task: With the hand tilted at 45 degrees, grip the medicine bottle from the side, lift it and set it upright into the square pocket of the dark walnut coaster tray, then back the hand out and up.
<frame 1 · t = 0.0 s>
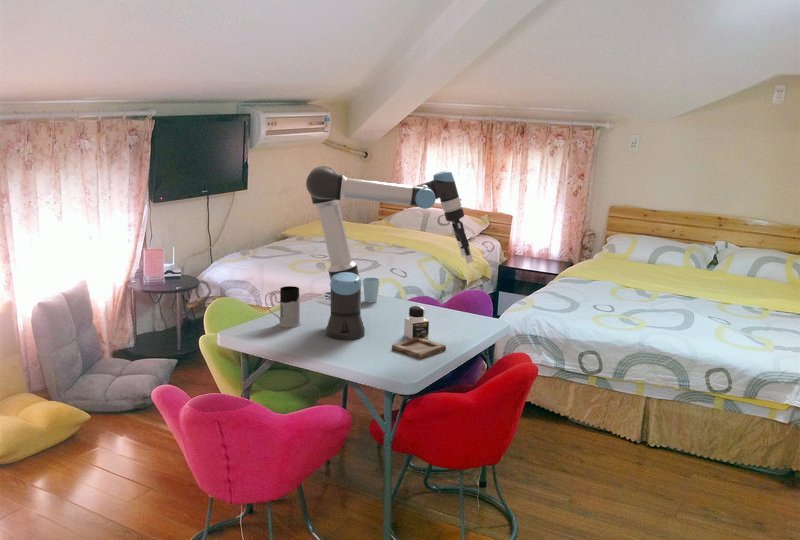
hand: (467, 259, 284), 28 cm above the table, tool tilted 20°, fingers open, 13 cm apart
coaster tray: (418, 349, 258), on the table
cup: (370, 301, 323), on the table
black and white mug: (283, 325, 284), on the table
medicine bottle: (416, 337, 273), on the table
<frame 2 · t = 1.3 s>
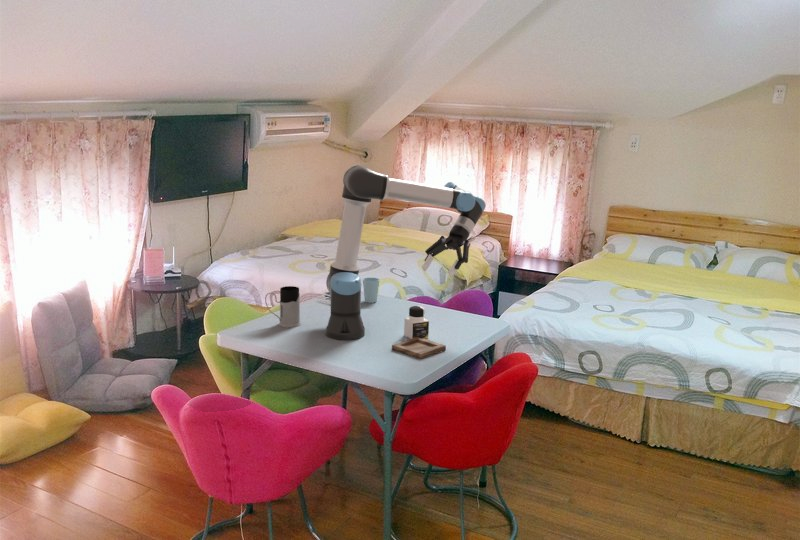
hand: (436, 272, 276), 24 cm above the table, tool tilted 45°, fingers open, 13 cm apart
nothing on the table moved.
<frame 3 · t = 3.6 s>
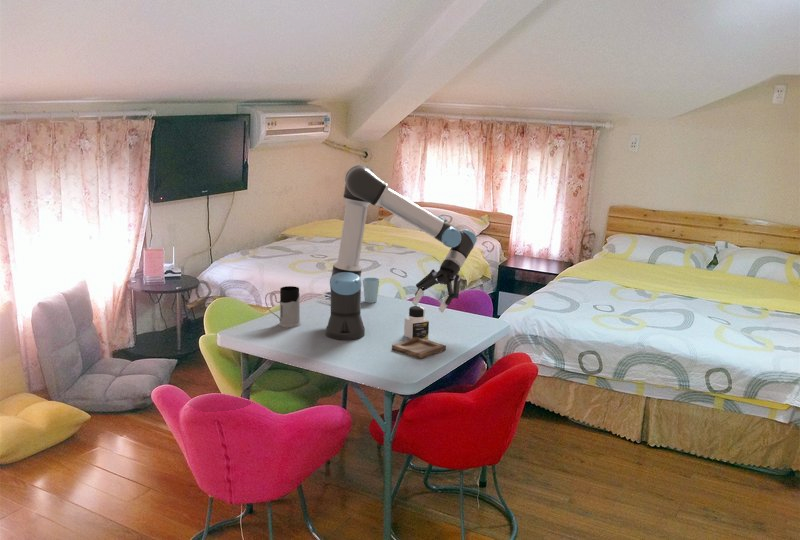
hand: (427, 307, 274), 11 cm above the table, tool tilted 45°, fingers open, 13 cm apart
nothing on the table moved.
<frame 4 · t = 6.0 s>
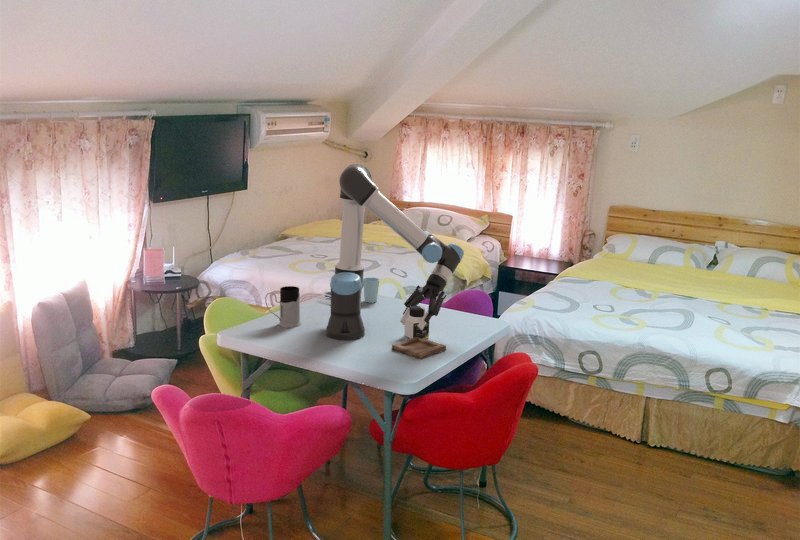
hand: (410, 325, 270), 5 cm above the table, tool tilted 45°, fingers closed on medicine bottle, 8 cm apart
medicine bottle: (416, 337, 273), on the table, touching gripper
everything else where it was.
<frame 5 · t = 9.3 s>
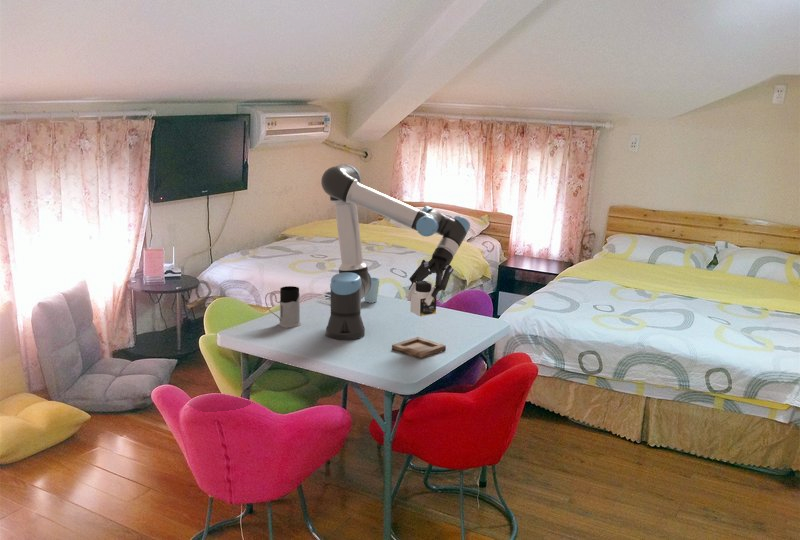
hand: (417, 301, 259), 17 cm above the table, tool tilted 45°, fingers closed on medicine bottle, 8 cm apart
medicine bottle: (423, 313, 262), point 12 cm above the table, touching gripper
everything else where it was.
when the fingers open (7 cm above the table, at t = 12.8 s): medicine bottle drops 1 cm, resting on coaster tray.
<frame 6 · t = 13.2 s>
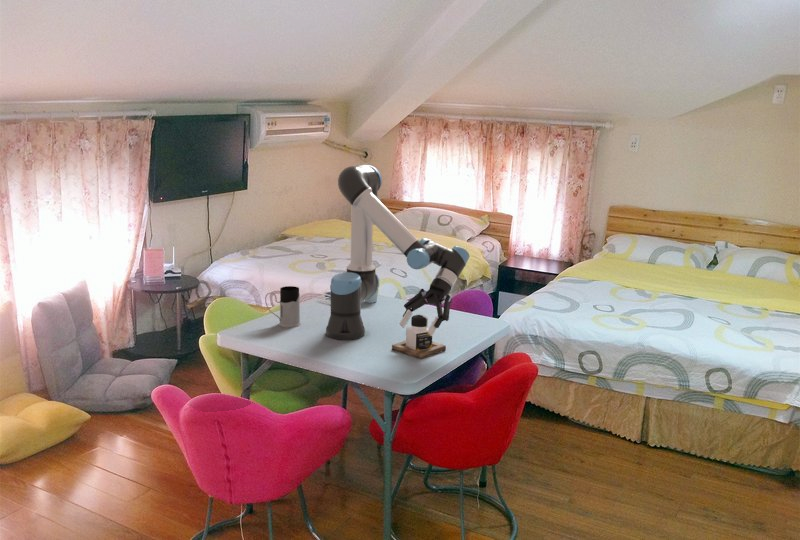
hand: (415, 330, 254), 8 cm above the table, tool tilted 45°, fingers open, 13 cm apart
medicine bottle: (418, 348, 258), point 1 cm above the table, touching coaster tray
everything else where it was.
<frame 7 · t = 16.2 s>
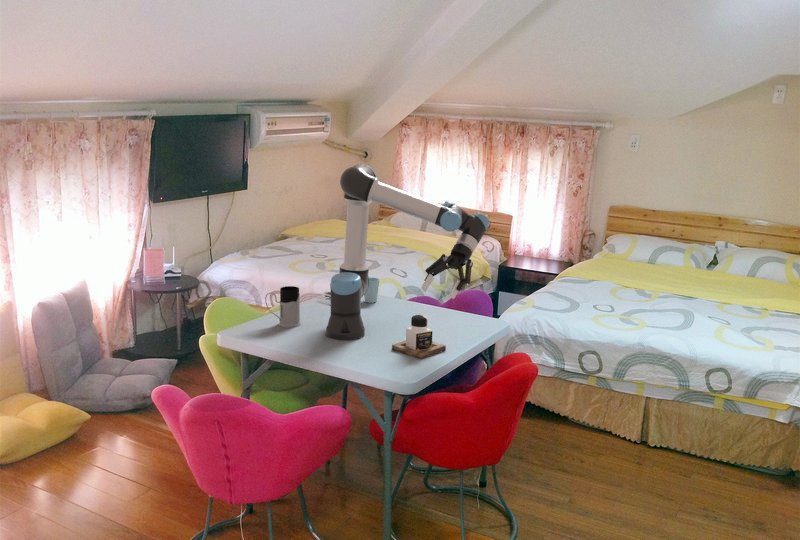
hand: (437, 293, 260), 20 cm above the table, tool tilted 45°, fingers open, 13 cm apart
nothing on the table moved.
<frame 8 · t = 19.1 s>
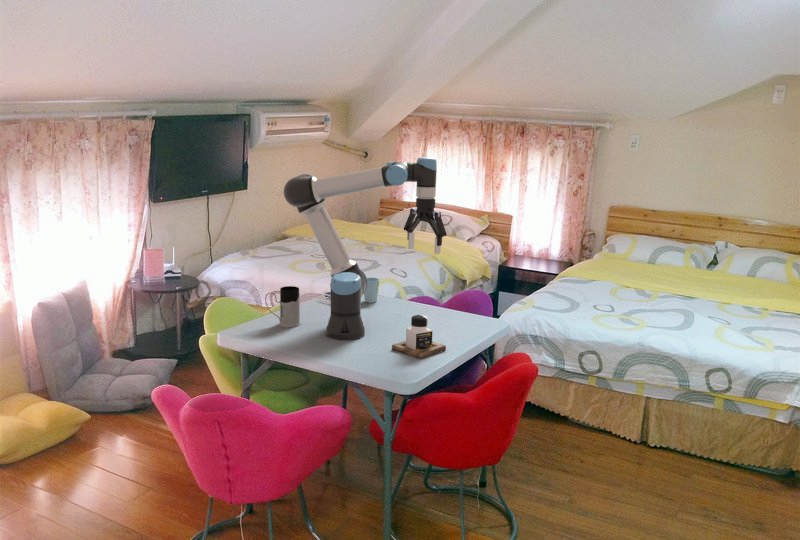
hand: (423, 251, 277), 32 cm above the table, tool pointing down, fingers open, 13 cm apart
nothing on the table moved.
at the end: medicine bottle 0.3 cm off-centre on the coaster tray, point 0.6 cm above the coaster tray's base; medicine bottle tilted 0°; the gripper is holding nothing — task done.
